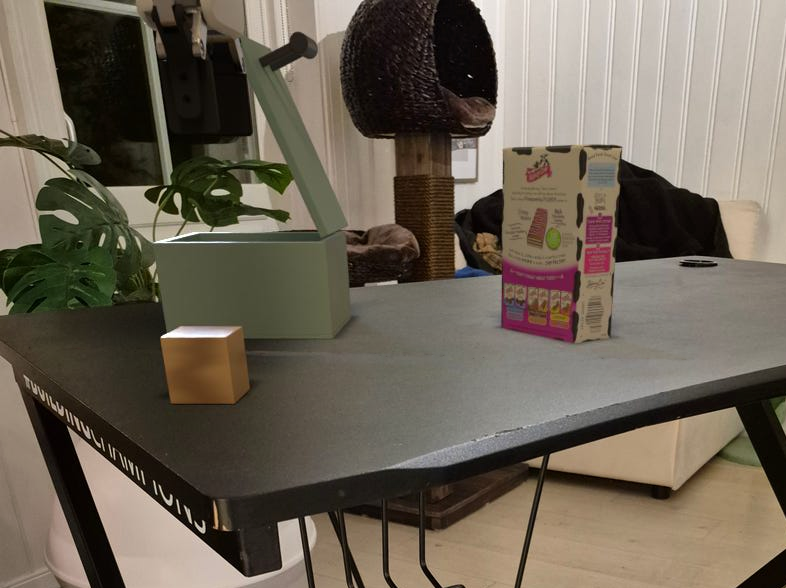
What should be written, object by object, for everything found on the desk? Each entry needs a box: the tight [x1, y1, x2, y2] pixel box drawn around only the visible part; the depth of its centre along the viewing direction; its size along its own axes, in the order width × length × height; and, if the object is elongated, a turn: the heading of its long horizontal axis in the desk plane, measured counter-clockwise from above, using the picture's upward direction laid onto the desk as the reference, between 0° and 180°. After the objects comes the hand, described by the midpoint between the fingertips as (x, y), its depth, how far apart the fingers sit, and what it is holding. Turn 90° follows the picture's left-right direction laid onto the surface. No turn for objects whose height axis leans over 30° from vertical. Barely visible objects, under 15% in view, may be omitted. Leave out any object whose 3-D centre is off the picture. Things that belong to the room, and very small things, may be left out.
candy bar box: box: [500, 143, 623, 344], centre depth 84 cm, size 11×5×16 cm, turn 37°
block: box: [159, 326, 251, 405], centre depth 66 cm, size 5×5×5 cm
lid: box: [239, 31, 349, 238], centre depth 82 cm, size 16×13×5 cm
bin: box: [152, 231, 352, 339], centre depth 89 cm, size 16×13×9 cm
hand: (214, 134), depth 63 cm, fingers open, 9 cm apart
